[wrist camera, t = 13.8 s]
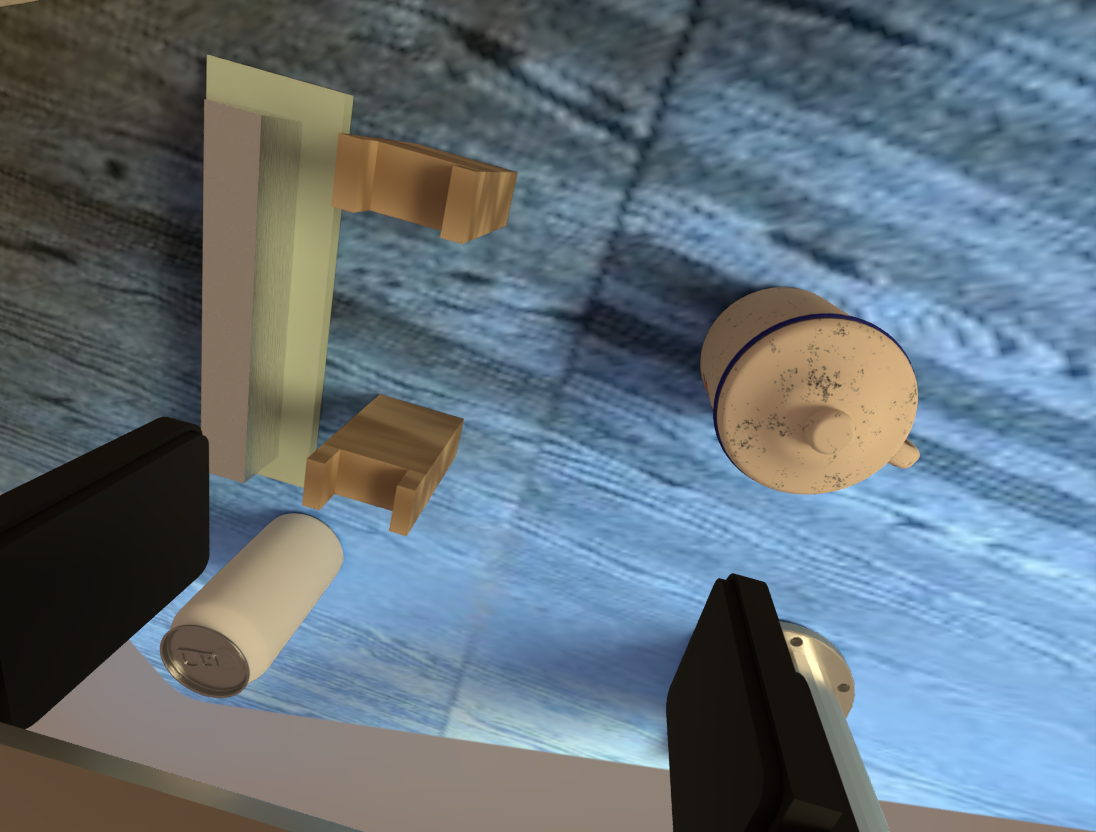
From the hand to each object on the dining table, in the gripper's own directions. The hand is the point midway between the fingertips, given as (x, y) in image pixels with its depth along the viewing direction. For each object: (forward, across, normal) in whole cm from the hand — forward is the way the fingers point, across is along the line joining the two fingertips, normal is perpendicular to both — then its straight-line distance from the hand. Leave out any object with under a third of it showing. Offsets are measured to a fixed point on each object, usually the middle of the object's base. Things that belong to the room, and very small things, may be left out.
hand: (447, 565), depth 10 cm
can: (+28, +16, +24) cm, 40 cm away
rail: (+26, +19, +5) cm, 33 cm away
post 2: (+27, +9, +11) cm, 31 cm away
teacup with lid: (+28, -14, +1) cm, 31 cm away
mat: (+27, +20, +5) cm, 34 cm away
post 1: (+27, +8, -5) cm, 29 cm away
